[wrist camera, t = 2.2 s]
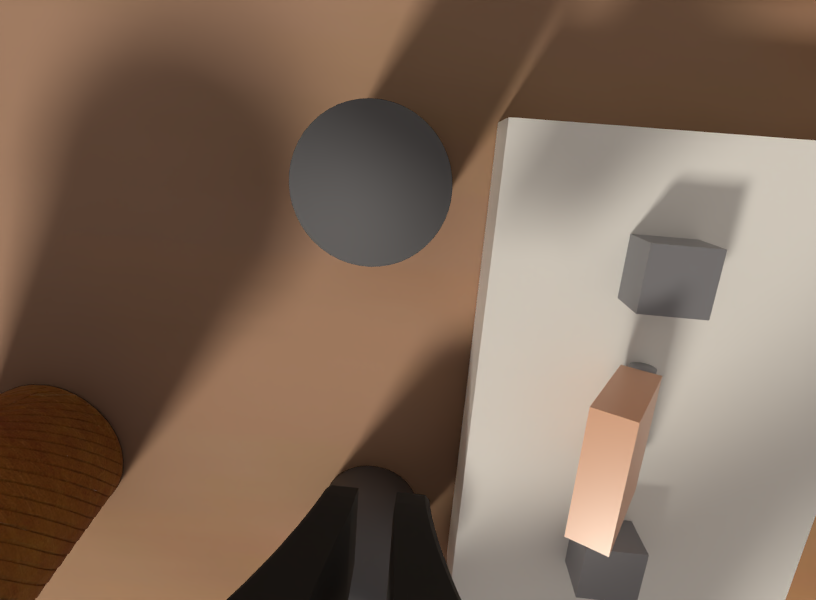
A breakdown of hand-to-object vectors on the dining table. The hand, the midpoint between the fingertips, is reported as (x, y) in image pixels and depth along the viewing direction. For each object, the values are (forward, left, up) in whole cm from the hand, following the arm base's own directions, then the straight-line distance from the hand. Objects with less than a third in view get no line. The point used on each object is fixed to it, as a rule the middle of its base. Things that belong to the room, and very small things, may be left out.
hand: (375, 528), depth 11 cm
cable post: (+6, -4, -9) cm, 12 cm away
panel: (-5, -6, -9) cm, 12 cm away
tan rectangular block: (-5, -6, -6) cm, 10 cm away
